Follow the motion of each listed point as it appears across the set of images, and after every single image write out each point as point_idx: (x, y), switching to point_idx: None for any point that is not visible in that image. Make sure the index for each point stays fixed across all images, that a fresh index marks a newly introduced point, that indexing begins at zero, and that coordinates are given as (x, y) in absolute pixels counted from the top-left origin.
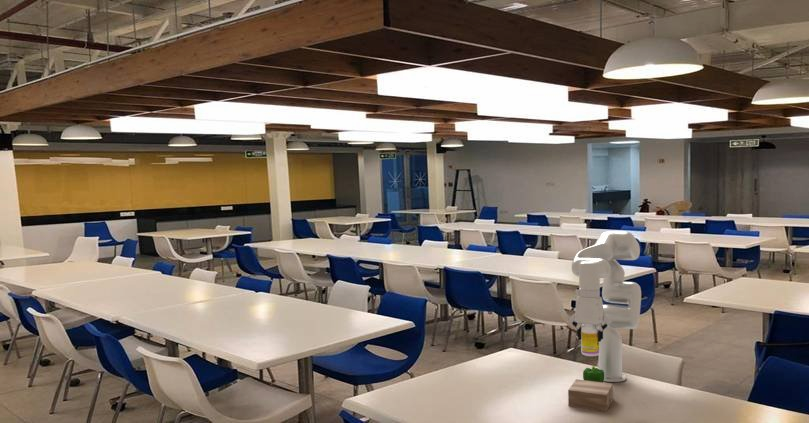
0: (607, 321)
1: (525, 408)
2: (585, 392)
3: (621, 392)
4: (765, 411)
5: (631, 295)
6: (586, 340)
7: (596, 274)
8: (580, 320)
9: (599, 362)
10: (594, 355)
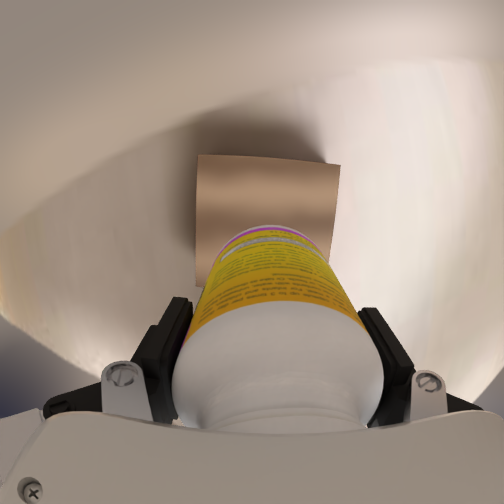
0: (20, 446)
1: (427, 115)
2: (276, 158)
3: None
4: None
5: None
6: (304, 266)
7: None
8: (465, 443)
9: None
10: (235, 236)
